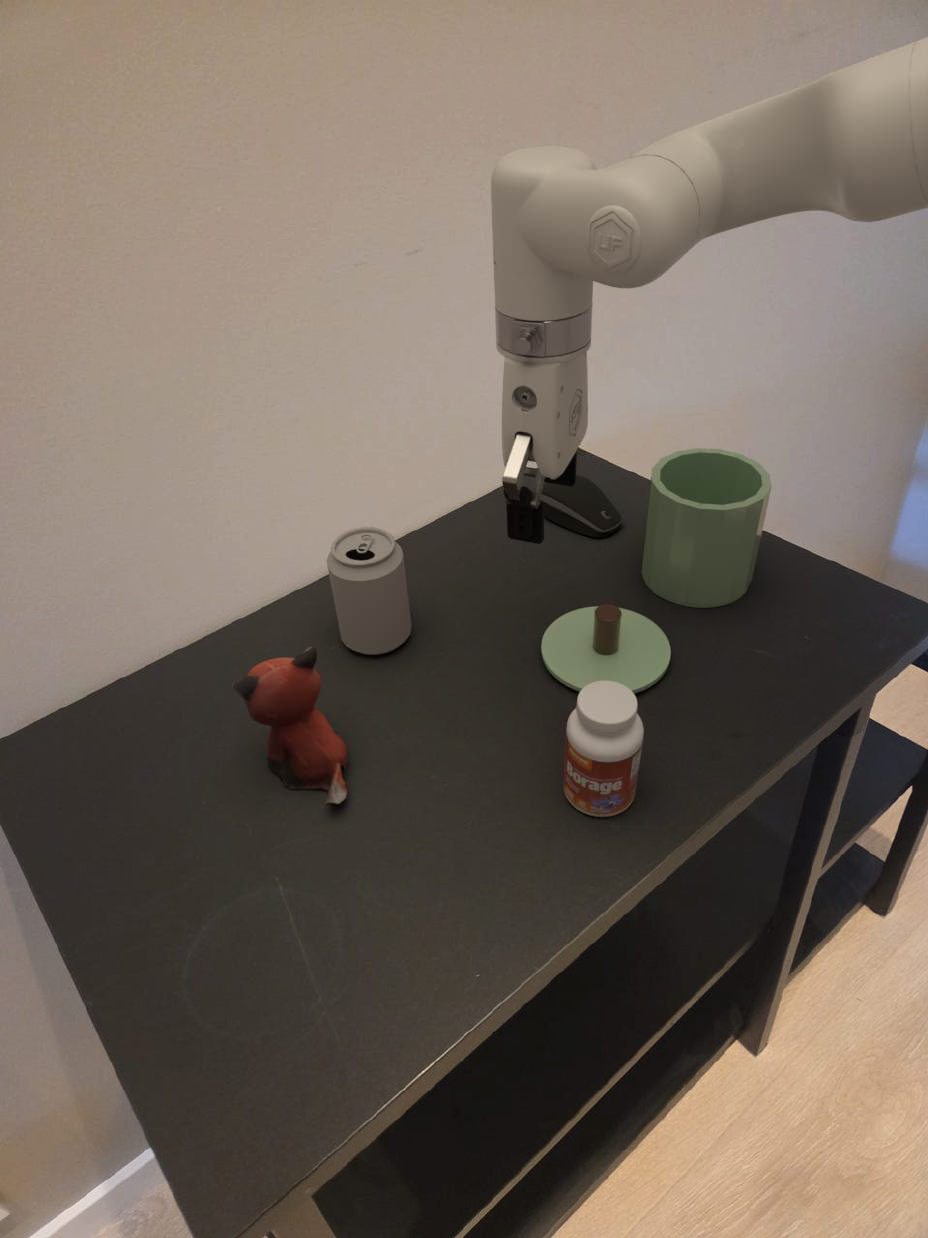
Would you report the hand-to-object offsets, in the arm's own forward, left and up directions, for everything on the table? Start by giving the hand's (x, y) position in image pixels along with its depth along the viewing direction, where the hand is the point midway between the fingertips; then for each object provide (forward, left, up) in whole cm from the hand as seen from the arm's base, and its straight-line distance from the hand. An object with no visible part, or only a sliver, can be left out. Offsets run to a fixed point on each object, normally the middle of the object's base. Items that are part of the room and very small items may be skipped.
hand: (543, 510), depth 79 cm
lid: (-5, +4, -15) cm, 17 cm away
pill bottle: (+1, +20, -16) cm, 26 cm away
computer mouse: (-10, -21, -16) cm, 29 cm away
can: (+17, -5, -16) cm, 24 cm away
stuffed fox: (+25, +12, -16) cm, 32 cm away
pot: (-19, -6, -16) cm, 26 cm away
